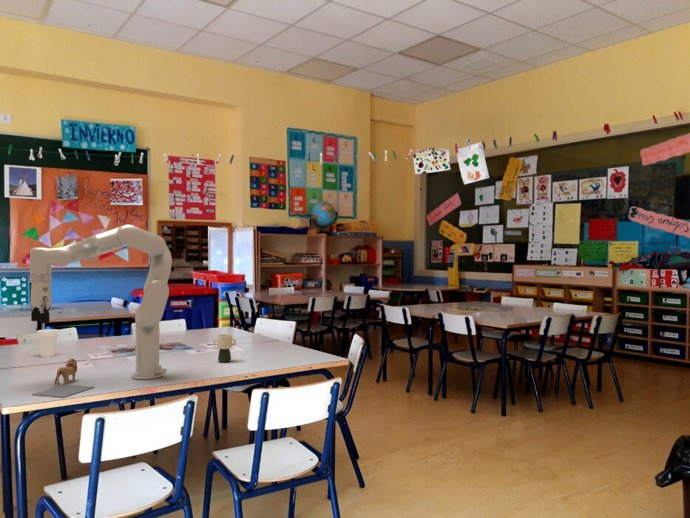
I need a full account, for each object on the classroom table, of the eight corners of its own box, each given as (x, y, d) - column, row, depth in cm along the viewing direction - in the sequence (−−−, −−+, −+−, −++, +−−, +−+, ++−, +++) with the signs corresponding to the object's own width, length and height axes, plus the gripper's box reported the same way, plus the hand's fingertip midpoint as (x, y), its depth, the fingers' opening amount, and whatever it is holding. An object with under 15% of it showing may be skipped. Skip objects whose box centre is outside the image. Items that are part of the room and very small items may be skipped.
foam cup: (48, 358, 279) (48, 332, 279) (32, 357, 281) (32, 331, 281) (61, 354, 289) (61, 329, 288) (46, 354, 290) (46, 328, 290)
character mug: (236, 360, 277) (237, 334, 277) (234, 363, 270) (234, 336, 270) (214, 360, 277) (214, 334, 276) (211, 363, 269) (212, 336, 269)
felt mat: (94, 387, 220) (94, 386, 220) (63, 397, 204) (63, 396, 204) (64, 385, 223) (64, 384, 223) (32, 395, 208) (32, 394, 208)
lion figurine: (66, 380, 233) (66, 358, 234) (79, 379, 234) (80, 358, 234) (51, 386, 219) (52, 363, 219) (65, 386, 219) (66, 362, 220)
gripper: (59, 279, 219) (58, 323, 219) (42, 277, 231) (42, 319, 231) (38, 279, 214) (37, 324, 214) (22, 278, 226) (22, 320, 226)
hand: (40, 321), depth 223 cm, fingers open, 9 cm apart
